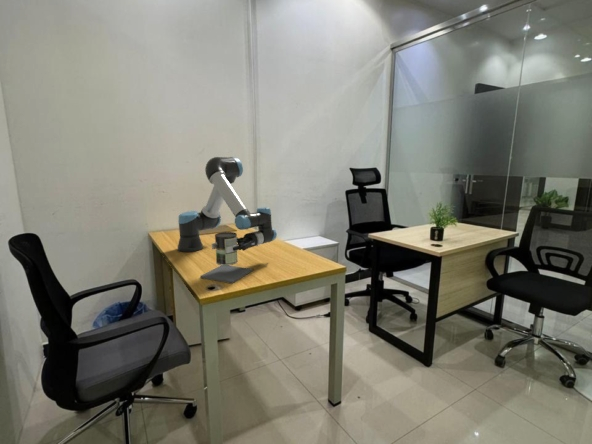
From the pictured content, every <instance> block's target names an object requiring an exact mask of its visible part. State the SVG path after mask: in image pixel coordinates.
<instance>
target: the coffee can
mask: <svg viewBox="0 0 592 444" xmlns="http://www.w3.org/2000/svg"><path fill="white" fill-rule="evenodd" d="M237 237H238V235H237V232H232V231H223V232H217V233H215V234H214V240H215V242H214V243H215V244H216V249H215V259H216V260H215V261H216V264H217V266H228V265H229V266H234V265H237V264H238V262H239V261H238V250H237V251H233V252H230V253H226V247H229V246H233V245H237V244H238V243H237Z"/></svg>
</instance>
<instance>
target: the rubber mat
mask: <svg viewBox="0 0 592 444" xmlns="http://www.w3.org/2000/svg"><path fill="white" fill-rule="evenodd" d="M253 271H254V269H253V268H248V267H242V266H234V265H228V266H221V265H218V266H216V267H215V268H213V269H211V270H209V271H207V272H204V273H203V274H201V275H200V279H204V280H210V281H215V280H216V282H221V281H223V282H222V283H227V282H228V283H229V284H235V282H237V281H238V280H240V278H241V279H242V278H243V277H245V276H247V275H248V274H250V273H252V272H253Z"/></svg>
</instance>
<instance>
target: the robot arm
mask: <svg viewBox="0 0 592 444" xmlns="http://www.w3.org/2000/svg"><path fill="white" fill-rule="evenodd" d="M206 162H207V163H206V165H205V167H204V168H205V170H204V171H205V176H206V179H207V180H208V182H209V183H210V184H212V185H213V187H212V189H211V192H210V195H209V198H208V200H207V201H206V202H207V203H206V204H205V206H202V208H201V210H200V212H198V211H196V210H191V211H189V210H188V211H185V212H182V213H179V215H178V220H177V221H178V228H179V229H178V230H179V240H178V244H177V251H179V252H181V253H192V252H193V253H194V252H198V251H201V250H203V248H204V245H203V242H202V239H201V237H200V232H201V231H206V230H213V229H215V228H218V227H219V225H220V224H221V222H222V219H221V218H222V217H221V213H220V209H221V207H222V204H223V202H225V204H226V205H227V207H228V208H229V209H230V211H231V212H232V214H233V216H234V224H235V228H237V229H238V230H240V231H241V230H242V231H243V230H249V229H252V228H258V230H255V231H252V232H247V233H245V234H244V235H243V237H238V236H237V245H233V246H229V247H226V253H230V252H233V251H237V252H238V251H246V250H248V249H250V248H254V247H258V246H260V245H263V244H264V245H265V244H267V243H270V242H274V241H275V240H276V238H277V232H276V229H275V228H273V225H272V223H273V222H272V212H271V211H272V210H271V208H270V207H268V206H266V207H257V209H256V212H250V211H249V209H248V208H247V206H246V205H245V203H244V202H243V201H242V199H241V198H240V196H239V195H238V193H237V192H236V191H235V189H234V187H233V186H232V184H234V183H235V181H236V178H240V177H241V176H242V174H243V172H244V167H243V164H242V163H243V162H242V161H241V160H240V159H239V158H238V157H234V156H229V157H227V156H226V157H225V156H224V157H222V156H220V157H219V156H214V157H212V158H210V159H209V160H208V161H206ZM211 250H216V244H215V242H213V243H211Z"/></svg>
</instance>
